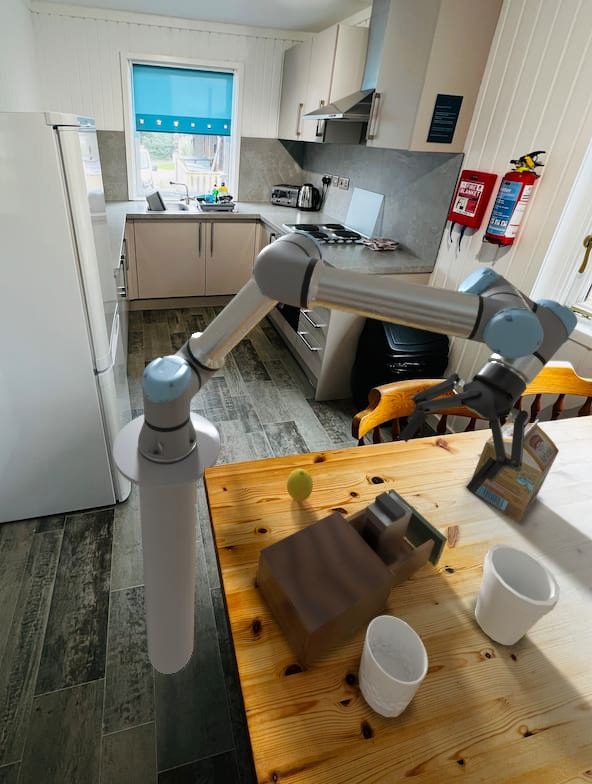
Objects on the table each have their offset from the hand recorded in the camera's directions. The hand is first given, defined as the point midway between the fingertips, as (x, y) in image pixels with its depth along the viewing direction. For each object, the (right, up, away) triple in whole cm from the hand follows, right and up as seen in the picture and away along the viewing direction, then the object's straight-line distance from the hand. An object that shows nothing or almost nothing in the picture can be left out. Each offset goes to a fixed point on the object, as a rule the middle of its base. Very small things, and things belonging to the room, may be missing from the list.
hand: (433, 463), depth 71 cm
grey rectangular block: (-9, -18, +3) cm, 21 cm away
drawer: (-7, -19, +4) cm, 21 cm away
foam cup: (+8, -25, -5) cm, 27 cm away
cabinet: (-21, -22, -3) cm, 31 cm away
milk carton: (+26, -15, +20) cm, 36 cm away
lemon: (-22, -14, +16) cm, 31 cm away
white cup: (-15, -27, -14) cm, 34 cm away
